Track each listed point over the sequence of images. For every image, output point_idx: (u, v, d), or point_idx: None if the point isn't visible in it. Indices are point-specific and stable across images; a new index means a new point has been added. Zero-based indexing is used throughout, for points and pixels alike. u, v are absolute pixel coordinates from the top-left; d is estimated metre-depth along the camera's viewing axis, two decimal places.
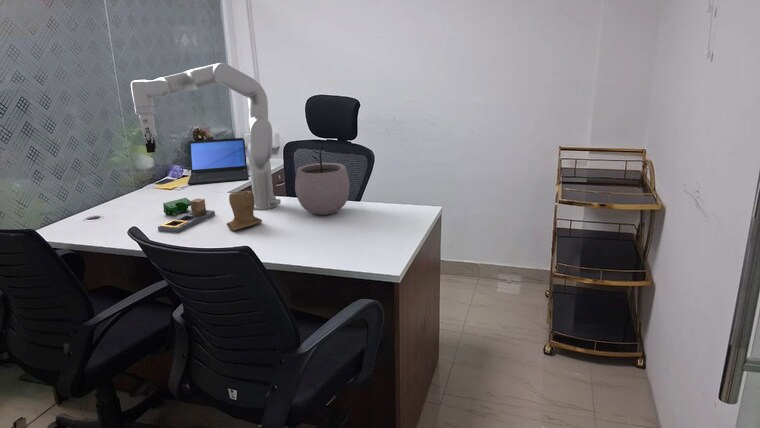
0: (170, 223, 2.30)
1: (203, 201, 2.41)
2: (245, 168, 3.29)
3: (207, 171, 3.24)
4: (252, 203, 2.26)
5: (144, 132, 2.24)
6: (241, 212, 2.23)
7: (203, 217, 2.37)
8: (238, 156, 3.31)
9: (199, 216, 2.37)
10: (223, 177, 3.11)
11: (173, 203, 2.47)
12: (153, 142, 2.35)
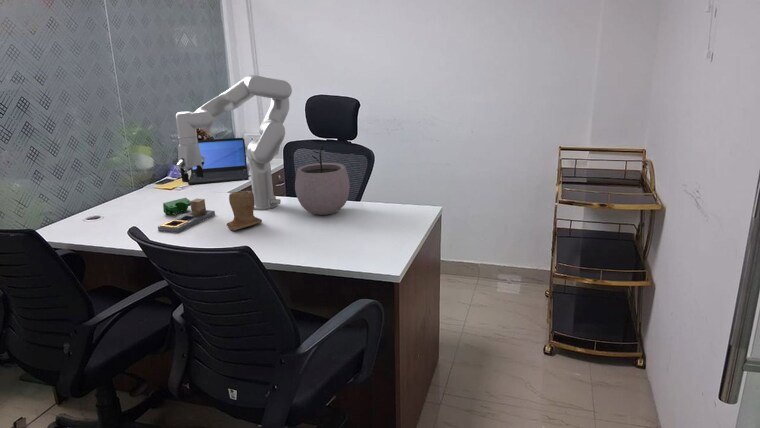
0: (170, 223, 2.30)
1: (203, 201, 2.41)
2: (245, 168, 3.30)
3: (207, 171, 3.25)
4: (252, 203, 2.26)
5: None
6: (241, 212, 2.23)
7: (203, 217, 2.37)
8: (238, 156, 3.32)
9: (199, 216, 2.37)
10: (223, 177, 3.11)
11: (173, 203, 2.47)
12: None
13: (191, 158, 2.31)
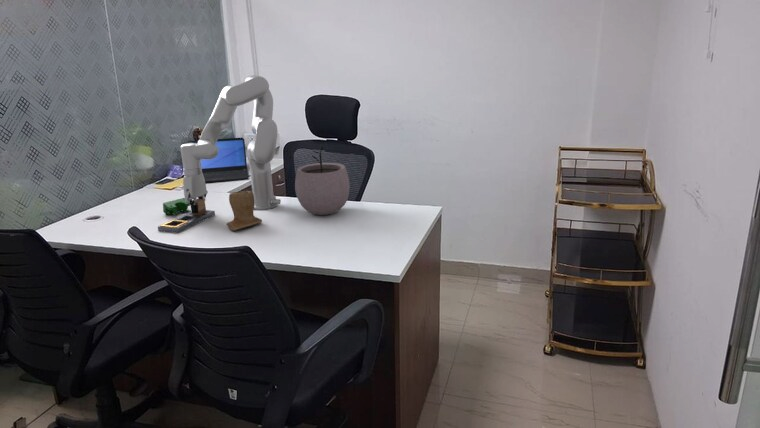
0: (170, 223, 2.30)
1: (203, 201, 2.41)
2: (245, 168, 3.31)
3: (207, 171, 3.26)
4: (252, 203, 2.26)
5: None
6: (241, 212, 2.23)
7: (203, 217, 2.37)
8: (238, 156, 3.32)
9: (199, 216, 2.37)
10: (223, 176, 3.12)
11: (173, 203, 2.47)
12: None
13: (196, 189, 2.35)
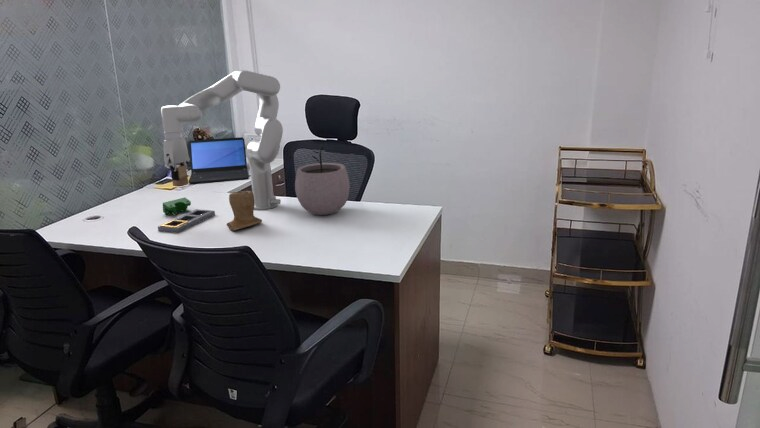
0: (170, 223, 2.30)
1: (184, 168, 2.28)
2: (245, 167, 3.32)
3: (207, 170, 3.27)
4: (252, 203, 2.26)
5: None
6: (241, 212, 2.23)
7: (203, 217, 2.37)
8: (238, 155, 3.33)
9: (199, 216, 2.37)
10: (223, 176, 3.13)
11: (172, 203, 2.47)
12: None
13: (176, 154, 2.23)
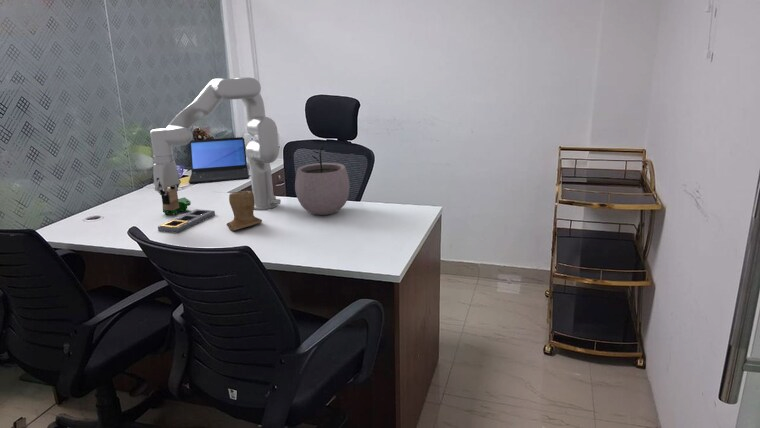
0: (170, 223, 2.30)
1: (175, 191, 2.24)
2: (245, 167, 3.32)
3: (207, 170, 3.27)
4: (252, 203, 2.26)
5: None
6: (241, 212, 2.23)
7: (203, 217, 2.37)
8: (238, 155, 3.34)
9: (199, 216, 2.37)
10: (224, 176, 3.14)
11: None
12: None
13: (167, 178, 2.18)
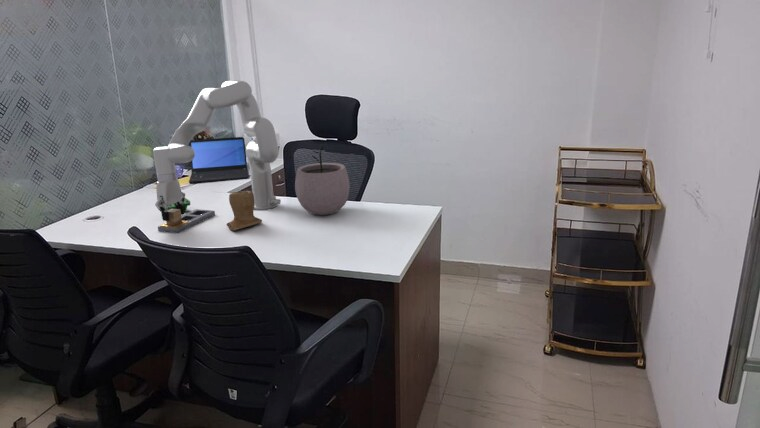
0: None
1: (179, 211, 2.27)
2: (245, 167, 3.33)
3: (207, 170, 3.28)
4: (252, 203, 2.26)
5: None
6: (241, 212, 2.23)
7: (203, 217, 2.37)
8: (238, 155, 3.35)
9: (199, 216, 2.37)
10: (224, 176, 3.14)
11: None
12: None
13: (170, 196, 2.21)
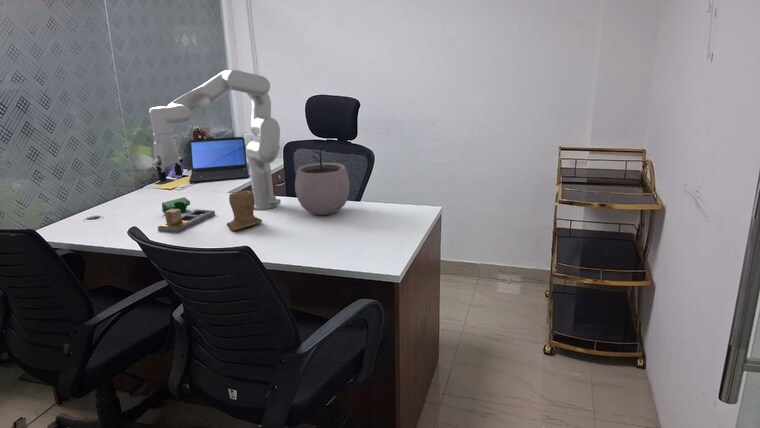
0: None
1: (179, 211, 2.27)
2: (245, 167, 3.34)
3: (208, 170, 3.28)
4: (252, 203, 2.26)
5: None
6: (241, 212, 2.23)
7: (203, 217, 2.37)
8: (238, 155, 3.35)
9: (199, 216, 2.37)
10: (224, 175, 3.15)
11: (172, 203, 2.48)
12: None
13: (167, 156, 2.19)
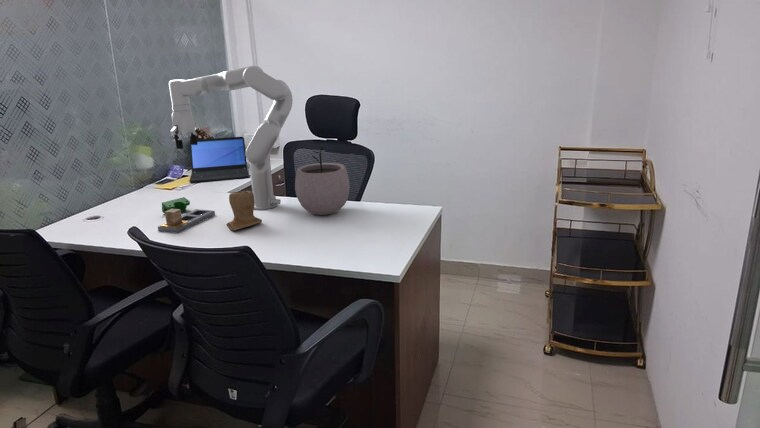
0: None
1: (179, 211, 2.27)
2: (245, 166, 3.34)
3: (208, 169, 3.29)
4: (252, 203, 2.26)
5: None
6: (241, 212, 2.23)
7: (203, 217, 2.37)
8: (238, 154, 3.36)
9: (199, 216, 2.37)
10: (224, 175, 3.16)
11: (171, 202, 2.48)
12: None
13: (184, 125, 2.37)
